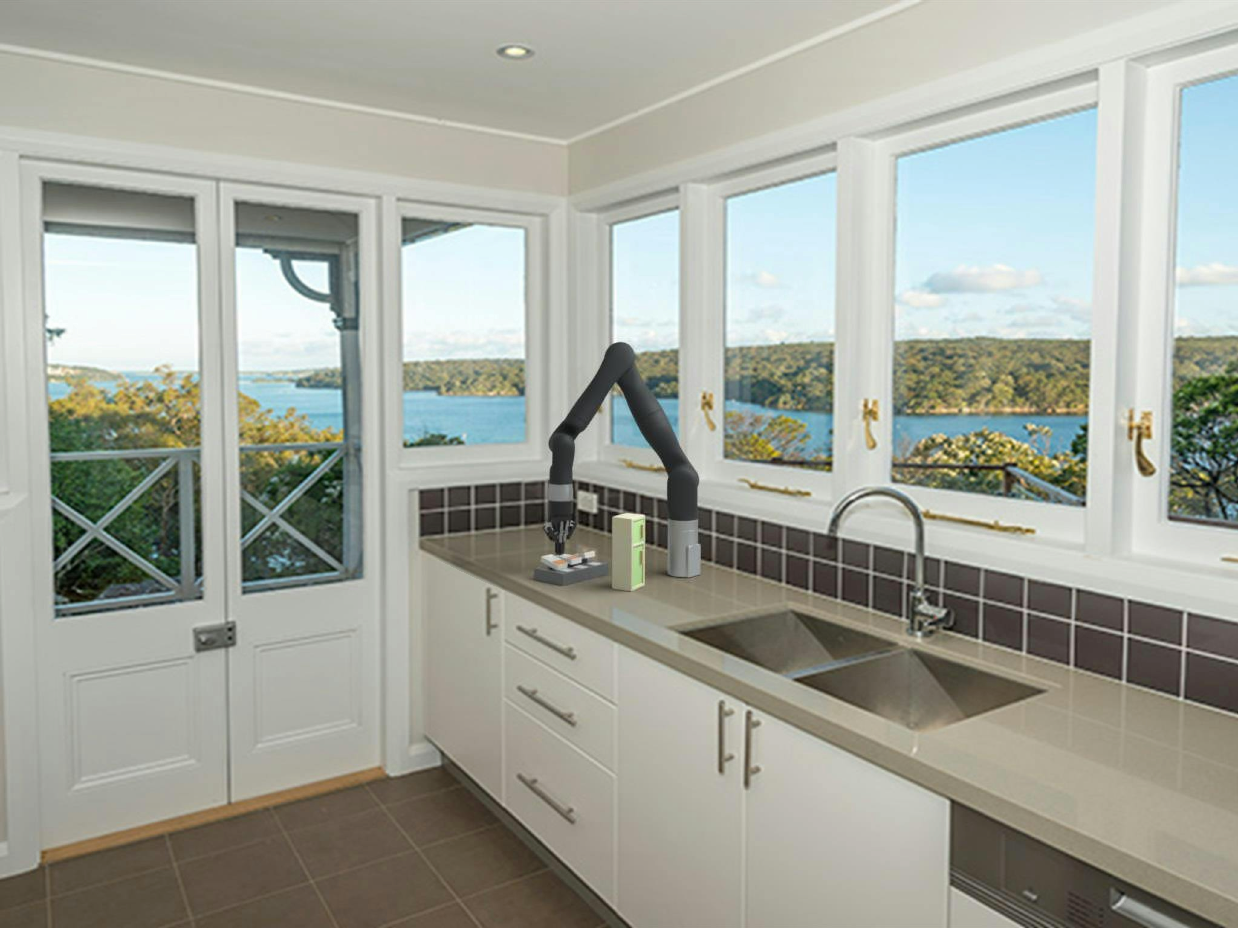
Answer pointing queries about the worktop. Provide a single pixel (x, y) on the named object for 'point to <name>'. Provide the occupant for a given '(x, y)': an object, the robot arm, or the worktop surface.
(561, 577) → the rocker switch panel
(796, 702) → the worktop surface
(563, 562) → the block
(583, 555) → the rocker
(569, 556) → the block
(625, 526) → the toy refrigerator
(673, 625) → the worktop surface
